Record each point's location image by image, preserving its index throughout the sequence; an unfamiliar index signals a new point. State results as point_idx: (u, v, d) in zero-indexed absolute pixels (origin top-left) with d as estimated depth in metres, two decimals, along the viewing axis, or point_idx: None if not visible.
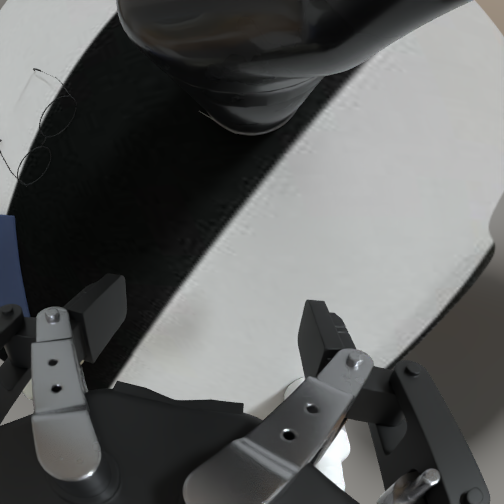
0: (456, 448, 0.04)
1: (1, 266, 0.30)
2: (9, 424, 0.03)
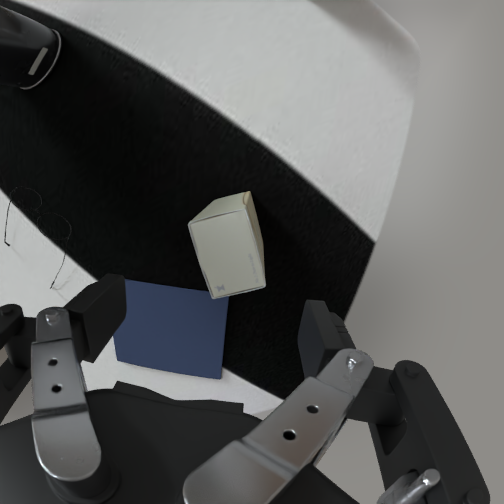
0: (456, 447, 0.04)
1: (162, 317, 0.35)
2: (9, 424, 0.03)
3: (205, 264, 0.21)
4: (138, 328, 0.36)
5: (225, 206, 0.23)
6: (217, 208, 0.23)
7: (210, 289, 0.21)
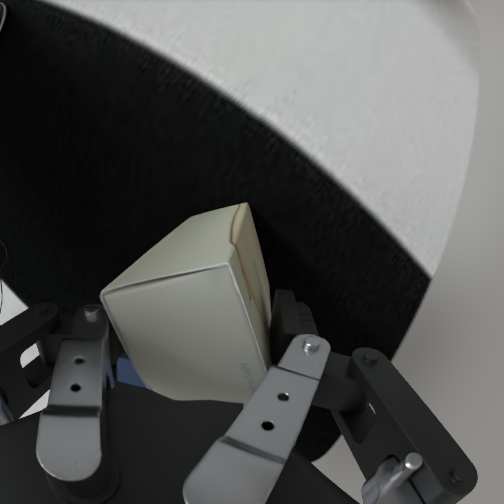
0: (431, 428, 0.05)
1: (128, 377, 0.23)
2: (9, 424, 0.03)
3: (148, 375, 0.09)
4: None
5: (192, 242, 0.11)
6: (176, 246, 0.11)
7: None
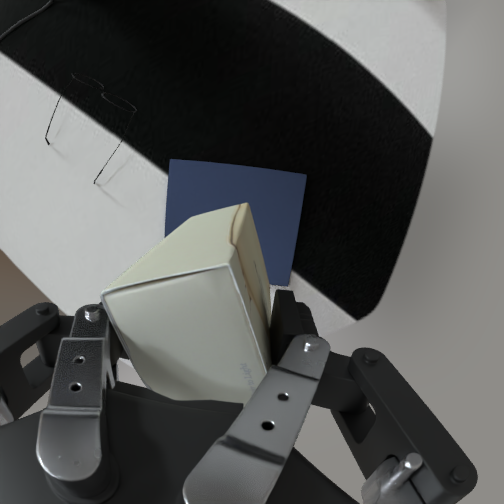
0: (431, 428, 0.05)
1: (230, 202, 0.33)
2: (9, 424, 0.03)
3: (148, 376, 0.09)
4: None
5: (193, 242, 0.11)
6: (177, 246, 0.11)
7: None
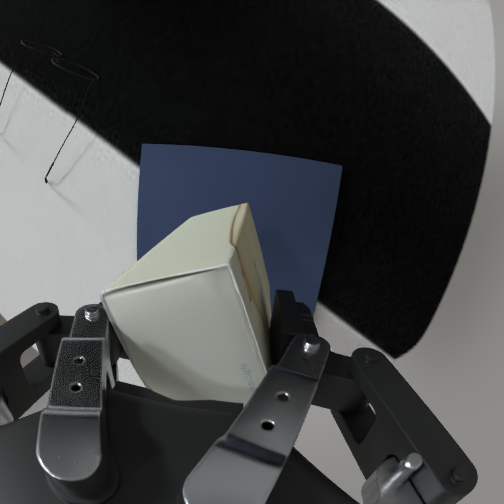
0: (431, 428, 0.05)
1: (230, 206, 0.22)
2: (9, 424, 0.03)
3: (148, 376, 0.09)
4: None
5: (193, 243, 0.11)
6: (177, 247, 0.11)
7: None
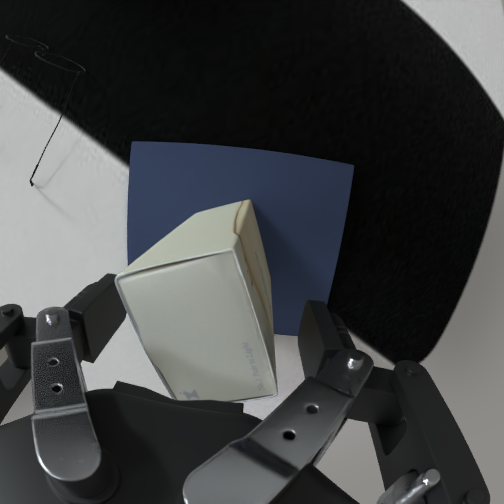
0: (456, 448, 0.04)
1: None
2: (9, 424, 0.03)
3: (157, 356, 0.10)
4: None
5: (199, 233, 0.12)
6: (184, 237, 0.12)
7: (172, 394, 0.10)
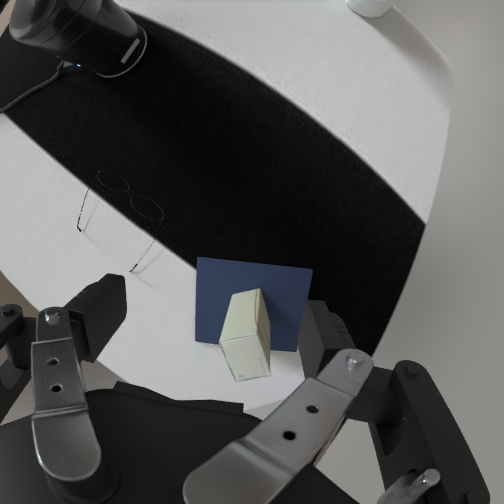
0: (456, 447, 0.04)
1: None
2: (9, 424, 0.03)
3: (230, 363, 0.30)
4: (224, 306, 0.41)
5: (242, 321, 0.32)
6: (237, 322, 0.32)
7: (234, 376, 0.31)
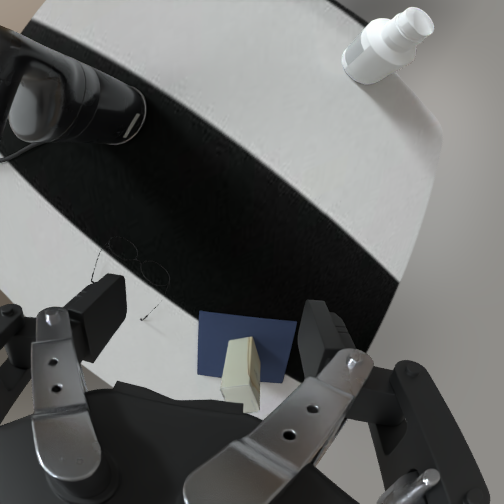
0: (456, 447, 0.04)
1: None
2: (9, 424, 0.03)
3: None
4: (222, 348, 0.48)
5: (238, 370, 0.39)
6: (233, 371, 0.39)
7: None
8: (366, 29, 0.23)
